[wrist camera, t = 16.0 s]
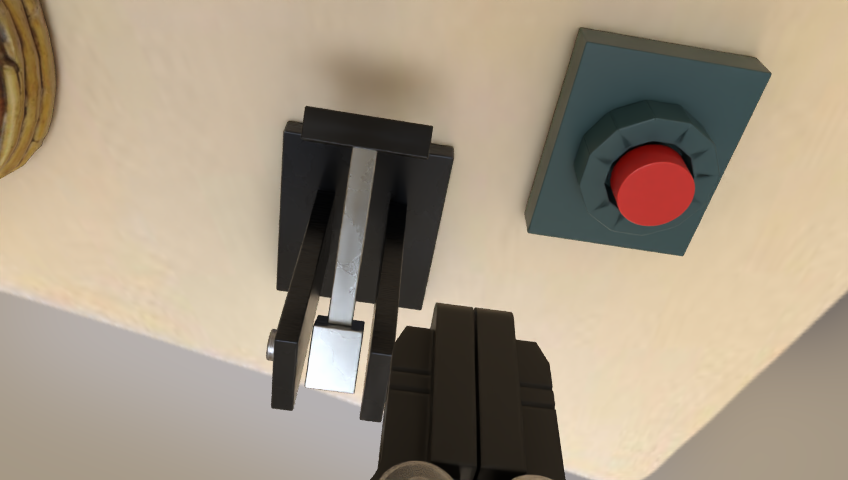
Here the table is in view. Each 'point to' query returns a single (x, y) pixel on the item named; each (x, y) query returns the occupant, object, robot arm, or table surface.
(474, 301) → the table surface
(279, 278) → the bracket
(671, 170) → the button
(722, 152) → the button box
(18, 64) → the tankard
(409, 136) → the lever
